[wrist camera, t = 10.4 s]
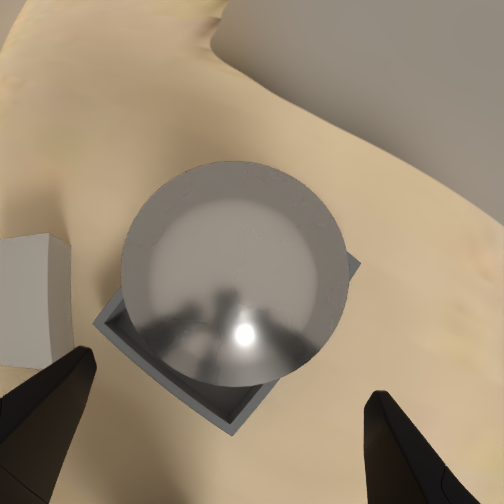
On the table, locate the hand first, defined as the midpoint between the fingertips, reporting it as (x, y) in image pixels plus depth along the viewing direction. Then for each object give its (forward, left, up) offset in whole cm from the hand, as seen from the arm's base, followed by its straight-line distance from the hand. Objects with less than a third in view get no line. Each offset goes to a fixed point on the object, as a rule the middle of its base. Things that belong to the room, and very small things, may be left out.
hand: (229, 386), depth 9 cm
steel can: (+3, +2, -12) cm, 13 cm away
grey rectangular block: (-7, +13, -13) cm, 20 cm away
